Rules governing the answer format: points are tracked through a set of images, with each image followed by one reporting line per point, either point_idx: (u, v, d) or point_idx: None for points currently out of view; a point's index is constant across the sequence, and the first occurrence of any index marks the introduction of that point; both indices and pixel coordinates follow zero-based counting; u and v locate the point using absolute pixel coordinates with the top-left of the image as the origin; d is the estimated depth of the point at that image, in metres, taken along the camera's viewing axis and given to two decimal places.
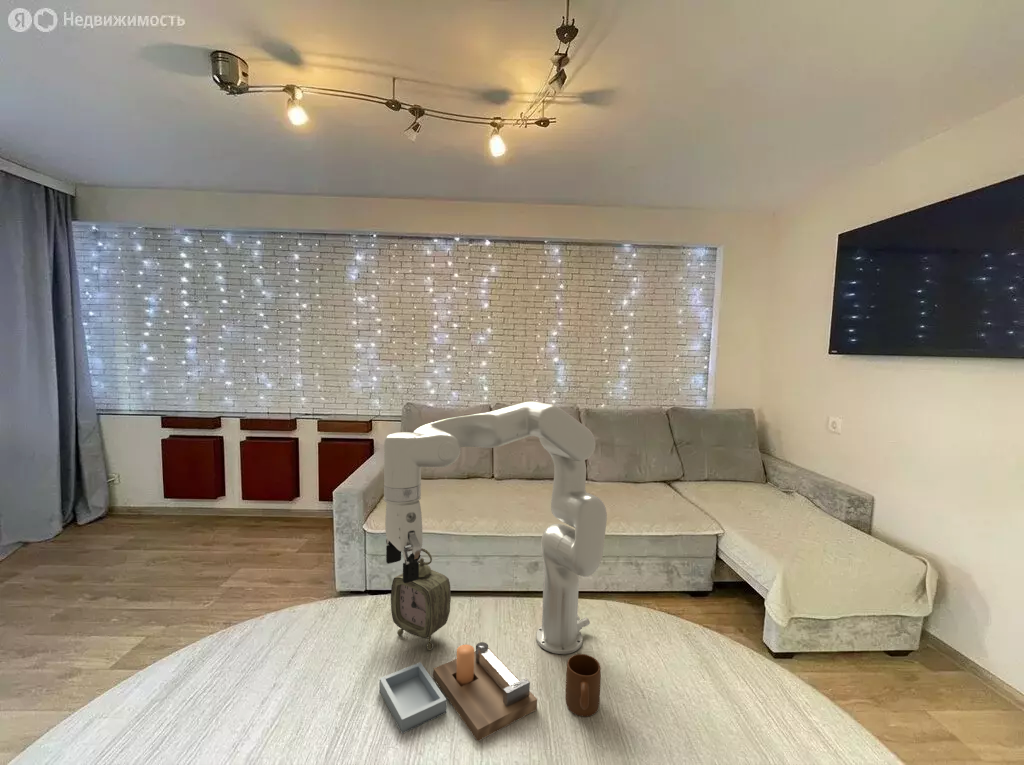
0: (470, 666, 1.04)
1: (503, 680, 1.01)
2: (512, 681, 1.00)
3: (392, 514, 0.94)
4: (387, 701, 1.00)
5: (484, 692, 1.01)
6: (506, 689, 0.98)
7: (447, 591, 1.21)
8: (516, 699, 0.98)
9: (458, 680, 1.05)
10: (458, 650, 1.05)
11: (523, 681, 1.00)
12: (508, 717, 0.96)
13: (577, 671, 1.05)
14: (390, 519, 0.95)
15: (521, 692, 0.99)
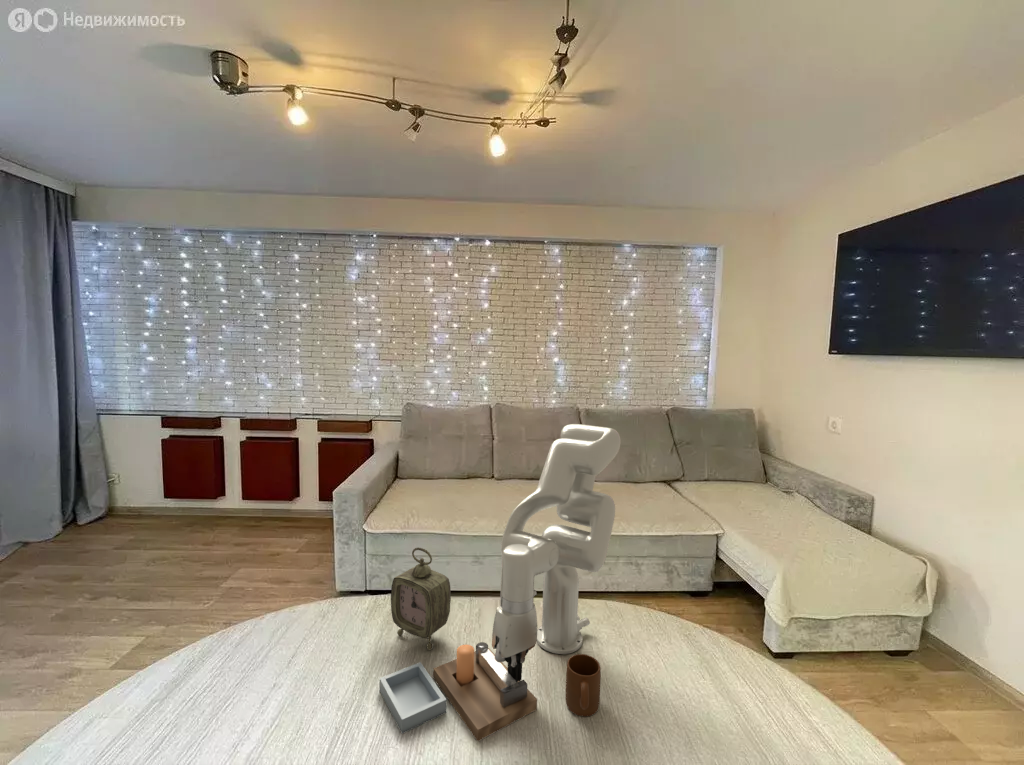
0: (470, 666, 1.04)
1: (501, 681, 1.01)
2: (510, 682, 1.00)
3: (526, 622, 1.02)
4: (387, 701, 1.00)
5: (484, 692, 1.01)
6: (503, 690, 0.98)
7: (447, 591, 1.21)
8: (513, 700, 0.98)
9: (458, 680, 1.05)
10: (458, 650, 1.05)
11: (521, 682, 1.00)
12: (508, 717, 0.96)
13: (577, 671, 1.05)
14: (521, 630, 1.02)
15: (518, 693, 0.99)
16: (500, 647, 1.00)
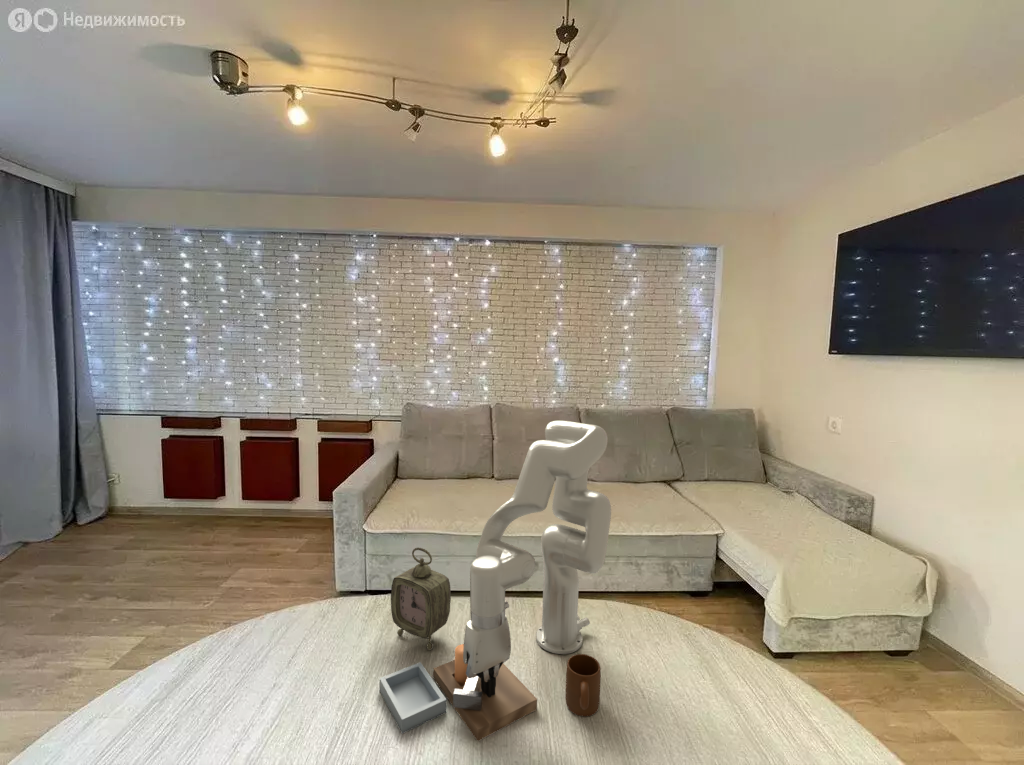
0: None
1: None
2: (469, 687, 0.98)
3: (497, 636, 0.98)
4: (387, 701, 1.00)
5: None
6: (456, 690, 0.97)
7: (447, 591, 1.21)
8: (464, 706, 0.96)
9: (456, 680, 1.05)
10: (456, 650, 1.06)
11: (477, 693, 0.97)
12: (508, 717, 0.96)
13: (577, 671, 1.05)
14: (492, 645, 0.98)
15: (470, 702, 0.96)
16: (471, 663, 0.97)
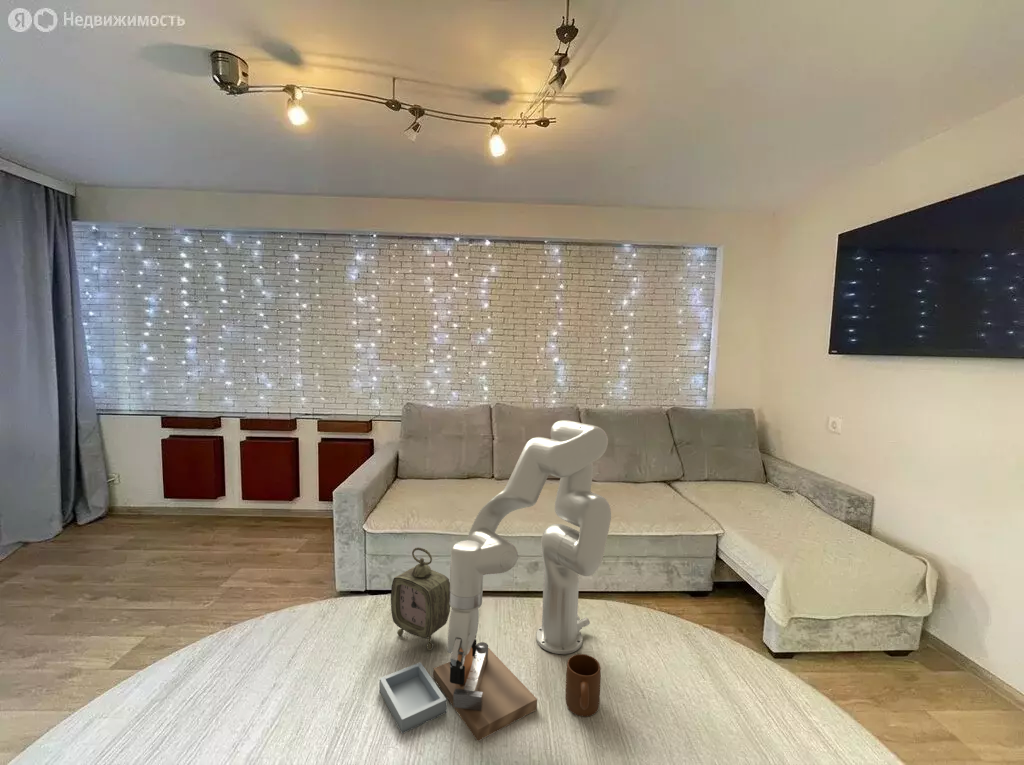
0: (469, 665, 1.05)
1: None
2: (469, 687, 0.98)
3: (476, 612, 1.05)
4: (387, 701, 1.00)
5: (484, 692, 1.01)
6: (456, 690, 0.97)
7: (447, 591, 1.21)
8: (464, 706, 0.96)
9: None
10: None
11: (477, 693, 0.97)
12: (508, 717, 0.96)
13: (577, 671, 1.05)
14: (475, 622, 1.04)
15: (470, 702, 0.96)
16: (463, 646, 1.00)
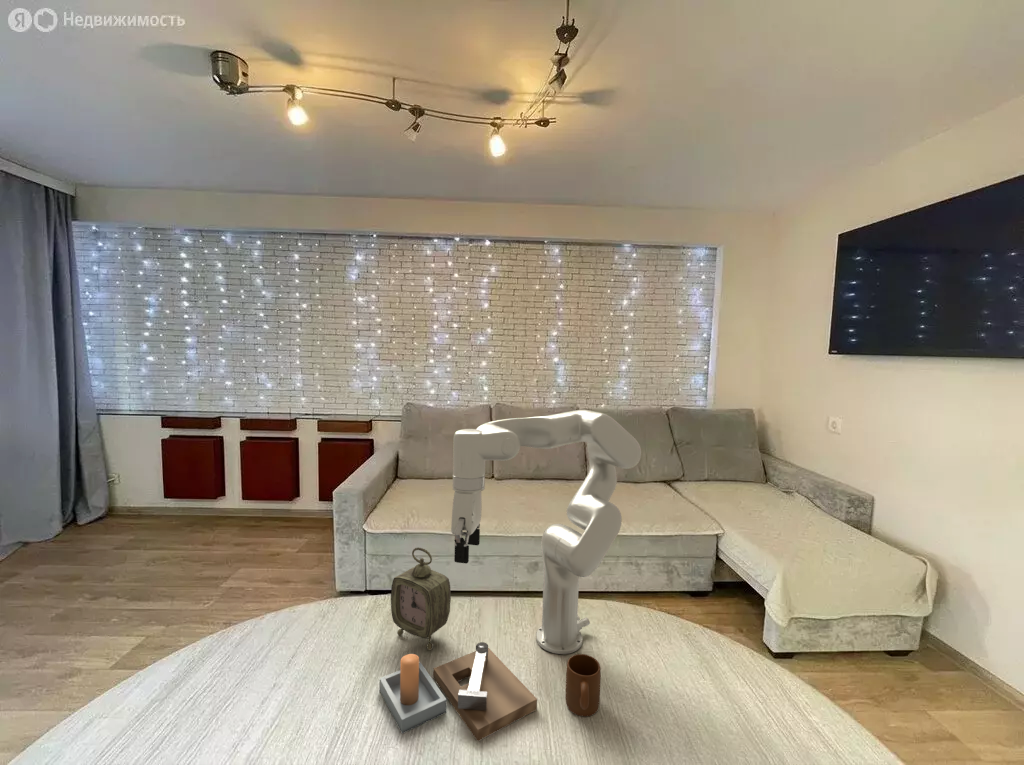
0: (415, 676, 1.00)
1: None
2: (473, 688, 0.98)
3: (479, 498, 1.08)
4: (387, 701, 1.00)
5: None
6: (461, 691, 0.97)
7: (447, 591, 1.21)
8: (469, 706, 0.96)
9: (402, 691, 1.00)
10: (402, 660, 1.01)
11: (482, 693, 0.97)
12: (508, 717, 0.96)
13: (577, 671, 1.05)
14: (478, 507, 1.07)
15: (475, 702, 0.96)
16: (467, 525, 1.02)
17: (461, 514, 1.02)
